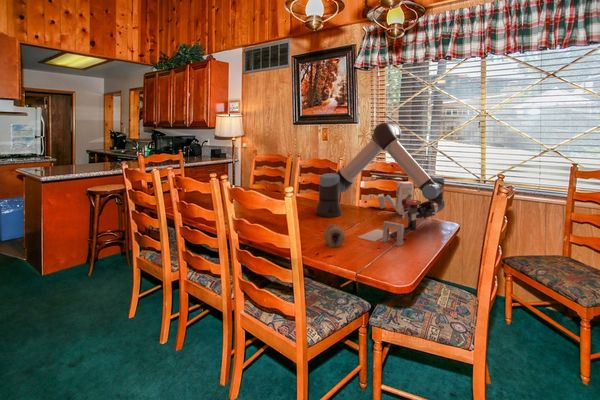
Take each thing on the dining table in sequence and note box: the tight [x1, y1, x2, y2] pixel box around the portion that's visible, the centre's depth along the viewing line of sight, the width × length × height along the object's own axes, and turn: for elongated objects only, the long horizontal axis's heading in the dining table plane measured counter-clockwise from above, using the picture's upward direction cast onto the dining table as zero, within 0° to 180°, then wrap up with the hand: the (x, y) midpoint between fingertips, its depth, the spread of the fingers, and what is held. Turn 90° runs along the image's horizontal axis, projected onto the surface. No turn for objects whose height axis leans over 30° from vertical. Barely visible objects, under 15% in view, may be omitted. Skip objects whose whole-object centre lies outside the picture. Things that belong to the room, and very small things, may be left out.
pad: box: [357, 228, 393, 243], centre depth 182 cm, size 9×18×1 cm, turn 140°
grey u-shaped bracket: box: [380, 220, 405, 247], centre depth 171 cm, size 9×5×9 cm, turn 50°
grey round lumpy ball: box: [323, 223, 346, 248], centre depth 167 cm, size 9×8×10 cm
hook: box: [389, 199, 422, 239], centre depth 178 cm, size 7×24×14 cm, turn 139°
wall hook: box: [377, 193, 396, 210], centre depth 239 cm, size 8×10×10 cm
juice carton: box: [395, 181, 414, 216], centre depth 225 cm, size 8×9×19 cm
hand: (407, 216), depth 180 cm, fingers closed on hook, 4 cm apart
